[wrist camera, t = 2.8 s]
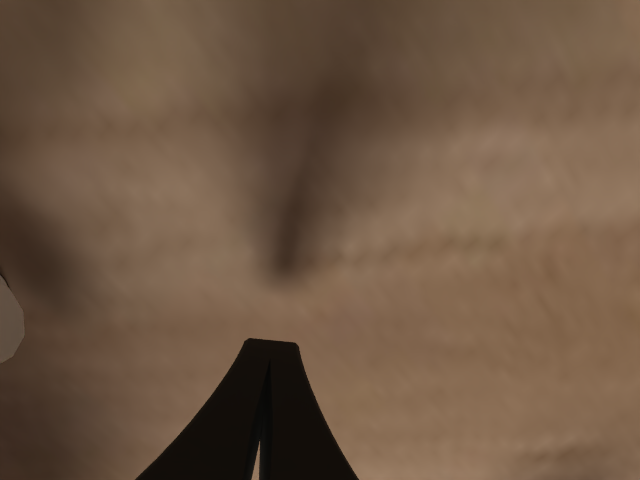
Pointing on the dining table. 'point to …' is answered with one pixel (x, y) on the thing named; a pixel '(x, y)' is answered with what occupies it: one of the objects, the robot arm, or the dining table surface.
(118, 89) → the dining table surface
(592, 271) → the dining table surface
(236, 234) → the dining table surface
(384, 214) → the dining table surface
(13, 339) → the pipe connector
